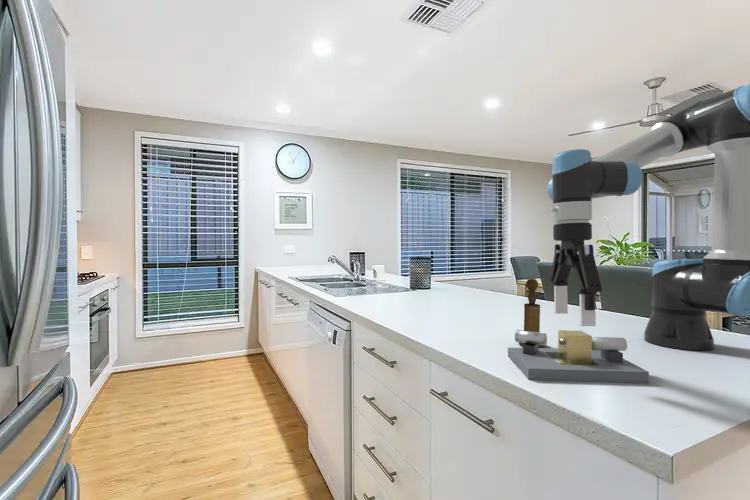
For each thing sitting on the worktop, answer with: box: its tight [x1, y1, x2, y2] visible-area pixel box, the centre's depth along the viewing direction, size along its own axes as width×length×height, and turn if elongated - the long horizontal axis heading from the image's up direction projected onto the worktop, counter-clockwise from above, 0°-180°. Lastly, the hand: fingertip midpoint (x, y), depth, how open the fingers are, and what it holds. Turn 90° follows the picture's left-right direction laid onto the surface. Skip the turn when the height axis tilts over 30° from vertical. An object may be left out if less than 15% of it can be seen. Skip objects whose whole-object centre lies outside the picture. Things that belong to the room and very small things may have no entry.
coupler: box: [557, 329, 593, 365], centre depth 85 cm, size 6×5×7 cm
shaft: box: [514, 329, 548, 355], centre depth 90 cm, size 6×4×5 cm
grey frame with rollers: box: [507, 336, 650, 384], centre depth 85 cm, size 23×16×7 cm
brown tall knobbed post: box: [518, 278, 546, 348], centre depth 104 cm, size 7×6×18 cm
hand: (573, 319), depth 85 cm, fingers open, 13 cm apart
